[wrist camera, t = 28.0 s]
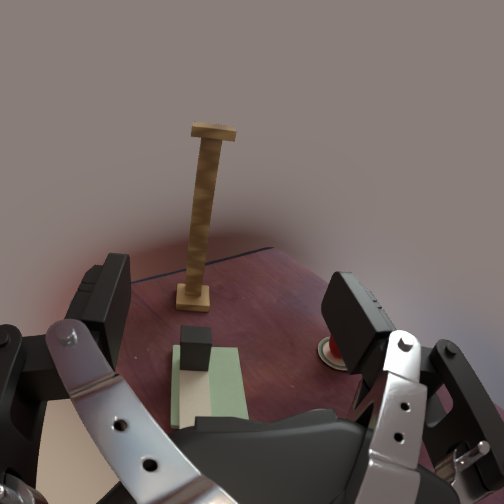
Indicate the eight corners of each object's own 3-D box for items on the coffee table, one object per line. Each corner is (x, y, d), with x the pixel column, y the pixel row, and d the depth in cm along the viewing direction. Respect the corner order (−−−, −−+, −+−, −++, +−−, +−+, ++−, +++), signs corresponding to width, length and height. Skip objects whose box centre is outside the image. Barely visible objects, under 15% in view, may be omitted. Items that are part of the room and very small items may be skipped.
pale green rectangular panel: (171, 428, 32) (170, 424, 31) (173, 349, 44) (173, 344, 43) (248, 429, 34) (249, 425, 33) (236, 352, 46) (237, 347, 45)
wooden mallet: (179, 436, 30) (179, 411, 27) (179, 358, 41) (181, 325, 38) (212, 437, 31) (217, 412, 28) (206, 359, 42) (211, 327, 39)
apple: (358, 344, 52) (372, 319, 49) (358, 376, 45) (375, 350, 42) (319, 334, 53) (330, 307, 50) (314, 365, 46) (328, 338, 43)
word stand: (175, 309, 52) (192, 125, 36) (177, 289, 57) (194, 121, 42) (208, 312, 53) (236, 131, 38) (207, 291, 58) (232, 126, 43)
